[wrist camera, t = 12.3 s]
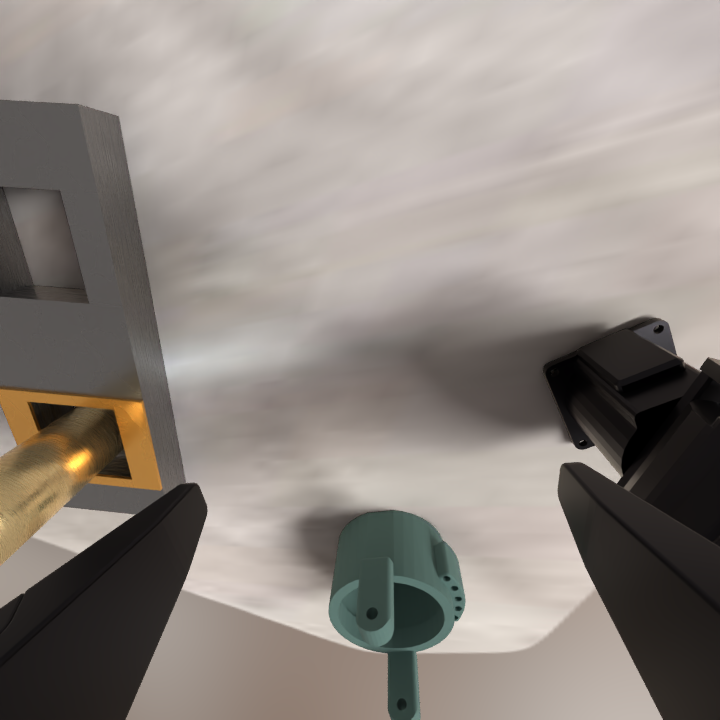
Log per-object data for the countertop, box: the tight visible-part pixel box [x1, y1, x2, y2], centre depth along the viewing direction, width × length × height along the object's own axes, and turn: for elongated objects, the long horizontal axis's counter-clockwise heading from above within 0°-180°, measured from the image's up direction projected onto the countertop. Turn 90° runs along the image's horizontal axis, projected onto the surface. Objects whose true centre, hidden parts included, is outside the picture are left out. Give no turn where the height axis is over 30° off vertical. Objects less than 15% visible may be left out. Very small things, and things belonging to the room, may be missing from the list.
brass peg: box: [0, 406, 124, 566], centre depth 19 cm, size 4×4×13 cm
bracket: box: [329, 510, 465, 720], centre depth 24 cm, size 9×9×9 cm
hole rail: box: [0, 100, 186, 514], centre depth 21 cm, size 24×9×3 cm, turn 177°
